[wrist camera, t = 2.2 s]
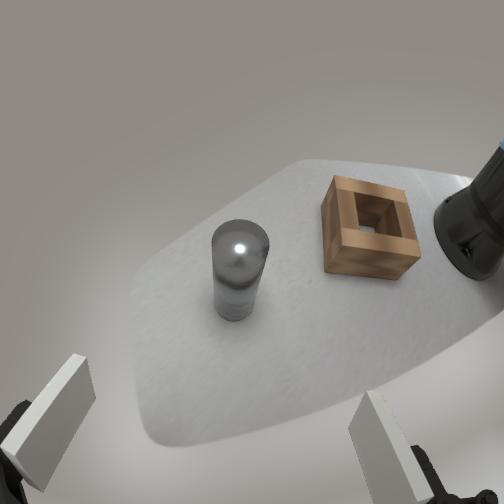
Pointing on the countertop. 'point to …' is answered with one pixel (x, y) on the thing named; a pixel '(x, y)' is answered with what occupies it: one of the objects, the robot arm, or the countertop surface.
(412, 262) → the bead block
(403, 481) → the robot arm
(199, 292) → the countertop surface
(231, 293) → the silver metal peg
